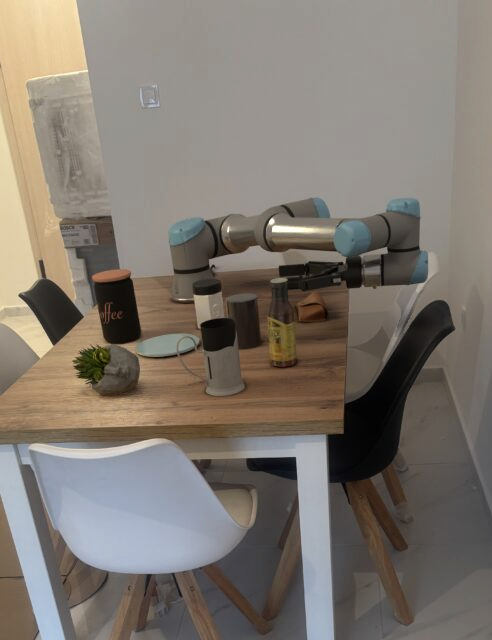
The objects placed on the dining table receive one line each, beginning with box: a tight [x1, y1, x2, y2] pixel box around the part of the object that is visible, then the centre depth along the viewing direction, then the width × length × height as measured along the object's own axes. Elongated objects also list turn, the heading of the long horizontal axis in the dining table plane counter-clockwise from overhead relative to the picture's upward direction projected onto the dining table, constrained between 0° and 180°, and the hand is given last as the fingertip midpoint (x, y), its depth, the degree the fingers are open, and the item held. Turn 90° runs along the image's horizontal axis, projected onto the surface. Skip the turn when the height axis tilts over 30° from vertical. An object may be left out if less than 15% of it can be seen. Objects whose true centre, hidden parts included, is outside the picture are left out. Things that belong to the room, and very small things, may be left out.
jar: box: [192, 278, 226, 330], centre depth 215 cm, size 9×8×12 cm
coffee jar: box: [91, 268, 142, 345], centre depth 212 cm, size 11×11×18 cm
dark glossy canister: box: [225, 293, 262, 350], centre depth 196 cm, size 8×8×12 cm
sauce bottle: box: [267, 277, 297, 368], centre depth 178 cm, size 7×6×20 cm
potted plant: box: [71, 343, 141, 397], centre depth 177 cm, size 12×13×15 cm
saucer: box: [135, 333, 201, 358], centre depth 204 cm, size 17×17×1 cm
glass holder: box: [176, 317, 246, 397], centre depth 168 cm, size 9×14×15 cm, turn 111°
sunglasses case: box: [294, 290, 330, 323], centre depth 216 cm, size 18×7×7 cm
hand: (275, 277), depth 191 cm, fingers open, 13 cm apart
